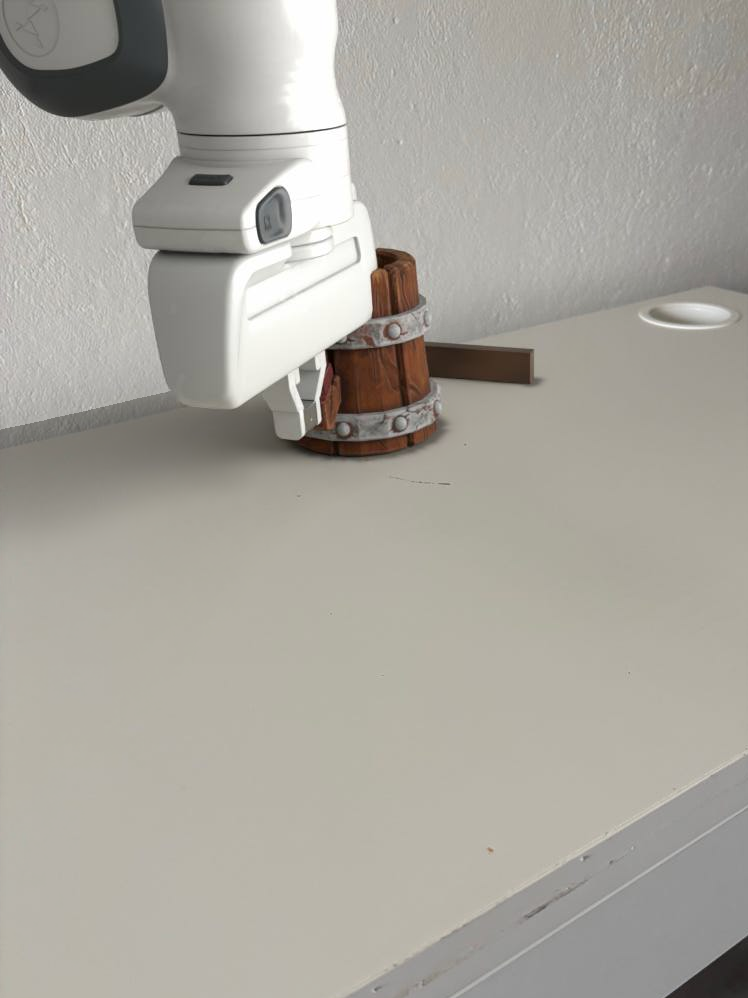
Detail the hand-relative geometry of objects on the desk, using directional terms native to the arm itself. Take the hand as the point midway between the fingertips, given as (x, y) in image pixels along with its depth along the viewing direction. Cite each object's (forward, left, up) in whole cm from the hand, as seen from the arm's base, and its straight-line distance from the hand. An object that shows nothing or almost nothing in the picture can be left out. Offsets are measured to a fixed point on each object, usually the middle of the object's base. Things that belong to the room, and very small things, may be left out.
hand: (299, 431), depth 63 cm
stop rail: (+1, +25, -4) cm, 25 cm away
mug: (-1, +10, -4) cm, 11 cm away
